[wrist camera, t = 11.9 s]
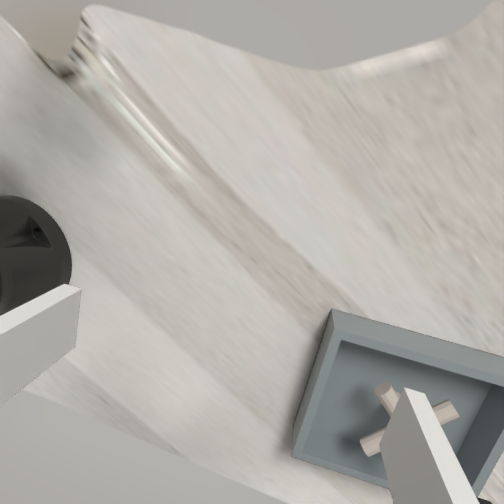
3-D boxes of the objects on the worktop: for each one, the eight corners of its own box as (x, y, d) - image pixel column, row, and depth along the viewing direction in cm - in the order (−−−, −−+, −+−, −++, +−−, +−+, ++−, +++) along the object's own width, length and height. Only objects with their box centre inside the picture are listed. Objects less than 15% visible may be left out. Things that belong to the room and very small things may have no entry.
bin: (293, 425, 45) (291, 456, 40) (331, 308, 40) (334, 328, 35) (450, 475, 43) (468, 514, 38) (510, 358, 38) (538, 387, 34)
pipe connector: (455, 414, 40) (506, 487, 31) (377, 448, 42) (401, 527, 33) (412, 343, 39) (450, 396, 30) (334, 382, 41) (346, 444, 32)
